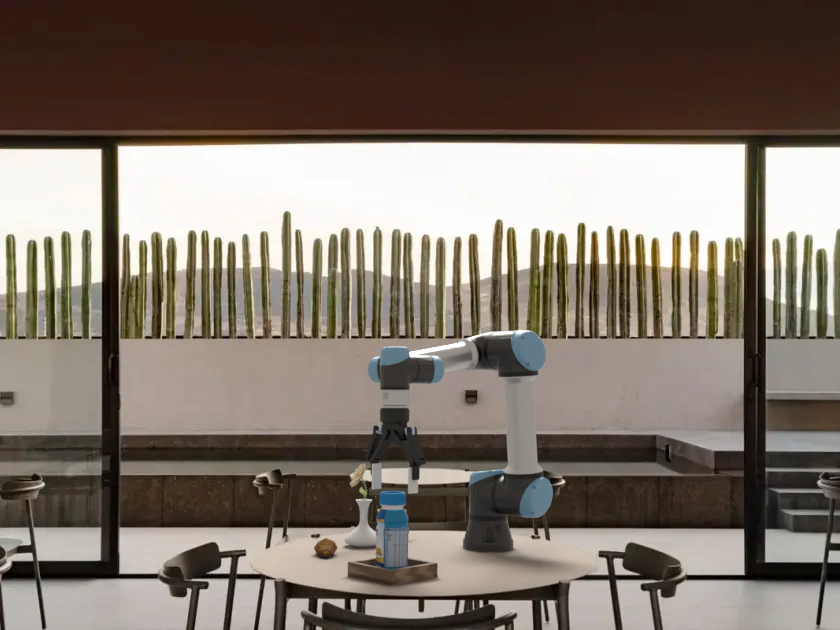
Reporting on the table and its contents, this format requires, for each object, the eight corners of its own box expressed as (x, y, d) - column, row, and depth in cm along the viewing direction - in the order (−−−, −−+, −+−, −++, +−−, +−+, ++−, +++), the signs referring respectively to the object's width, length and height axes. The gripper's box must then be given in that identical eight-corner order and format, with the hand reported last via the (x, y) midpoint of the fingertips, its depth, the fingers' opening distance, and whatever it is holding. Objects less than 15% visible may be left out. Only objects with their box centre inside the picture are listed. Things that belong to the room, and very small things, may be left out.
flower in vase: (346, 543, 296) (347, 460, 298) (383, 543, 296) (384, 461, 298) (341, 550, 283) (342, 463, 285) (380, 550, 283) (381, 464, 285)
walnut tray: (394, 568, 255) (394, 554, 255) (437, 577, 243) (437, 563, 244) (347, 576, 244) (347, 561, 244) (390, 585, 232) (390, 570, 232)
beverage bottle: (397, 576, 238) (398, 494, 239) (368, 573, 242) (369, 492, 244) (414, 571, 245) (415, 491, 247) (386, 568, 249) (387, 489, 251)
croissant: (338, 559, 268) (339, 541, 269) (314, 560, 267) (314, 541, 268) (336, 551, 282) (336, 534, 282) (312, 551, 281) (313, 534, 281)
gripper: (351, 406, 253) (351, 488, 252) (418, 408, 235) (418, 496, 234) (373, 405, 258) (372, 486, 257) (440, 407, 240) (439, 493, 239)
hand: (394, 491), depth 245 cm, fingers open, 13 cm apart
